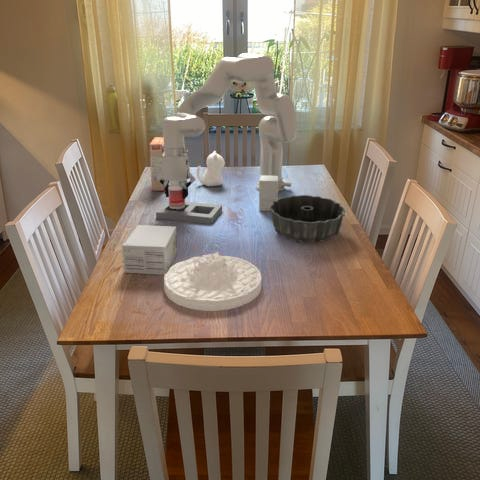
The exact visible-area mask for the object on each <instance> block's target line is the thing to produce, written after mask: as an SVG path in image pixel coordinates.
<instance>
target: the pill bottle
mask: <svg viewBox="0 0 480 480" xmlns="http://www.w3.org/2000/svg"><path fill="white" fill-rule="evenodd" d="M182 190H183V185H182V183H181V182H178V181H170V182H169V186H168V195H169V197H168V201H169V207H170V208H171V210H174V209H182V208H184V207H185V202H186V198H185V199H183V191H182Z"/></svg>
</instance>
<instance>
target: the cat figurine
mask: <svg viewBox="0 0 480 480" xmlns="http://www.w3.org/2000/svg"><path fill="white" fill-rule="evenodd" d="M225 164H226V163H225V160H224V158H223V156H221V155H220V154H218V153H217V151H216V150H214V151H212V153H210V154H209V155H207V158H206V167H207V168H206V169H205V170H204V173H203V176H202V177H201V168H202V167H201V165H199V166H197V170H196V176H197V179H198V181H199V182H200V183H201V184H203V185H205V186H206V187H218V186H219V187H220V186H221V185H222V184H223V181H224V180H223V179H224V178H223V172H222V171H221V170H222V169H223V168H224V166H225Z"/></svg>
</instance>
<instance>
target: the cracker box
mask: <svg viewBox="0 0 480 480" xmlns="http://www.w3.org/2000/svg"><path fill="white" fill-rule="evenodd" d="M163 154H164V139H163V136H162V137H161V136H160V137H159V136H155V137H154V138H153V139H152V141H151V142H149V159H150V160H149V162H150V178H151V179H150V181H151V191H153V192H165V188H164V187H163V185H162V184H161V183H160V181H159V180H158V179H157V178H156V176H157V175H158V174H159V173H160V172H161V169H162V157H163ZM161 177H162V176H161Z"/></svg>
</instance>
